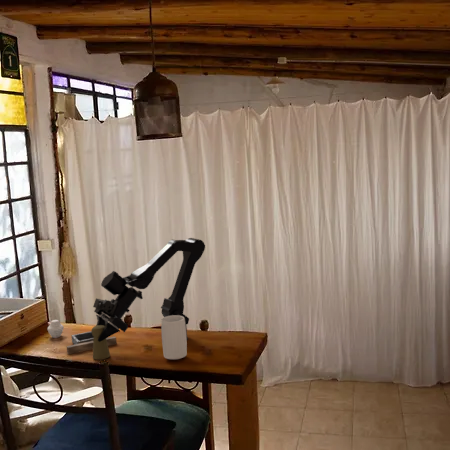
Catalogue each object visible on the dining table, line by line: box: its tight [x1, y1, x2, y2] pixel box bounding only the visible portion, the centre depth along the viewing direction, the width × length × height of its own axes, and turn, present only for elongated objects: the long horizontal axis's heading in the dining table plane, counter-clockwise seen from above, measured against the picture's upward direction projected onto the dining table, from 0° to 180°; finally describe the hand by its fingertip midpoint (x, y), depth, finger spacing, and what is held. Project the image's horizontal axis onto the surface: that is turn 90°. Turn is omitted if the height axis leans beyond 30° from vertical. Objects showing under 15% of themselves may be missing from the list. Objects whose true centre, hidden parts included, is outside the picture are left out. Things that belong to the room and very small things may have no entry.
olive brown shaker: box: [91, 324, 111, 360], centre depth 194 cm, size 6×6×11 cm
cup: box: [160, 315, 188, 360], centre depth 190 cm, size 8×8×14 cm
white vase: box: [47, 319, 64, 339], centre depth 220 cm, size 6×6×7 cm
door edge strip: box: [66, 336, 117, 355], centre depth 205 cm, size 18×2×2 cm, turn 119°
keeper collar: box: [71, 330, 94, 345], centre depth 211 cm, size 9×9×3 cm
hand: (95, 339), depth 193 cm, fingers closed on olive brown shaker, 5 cm apart
